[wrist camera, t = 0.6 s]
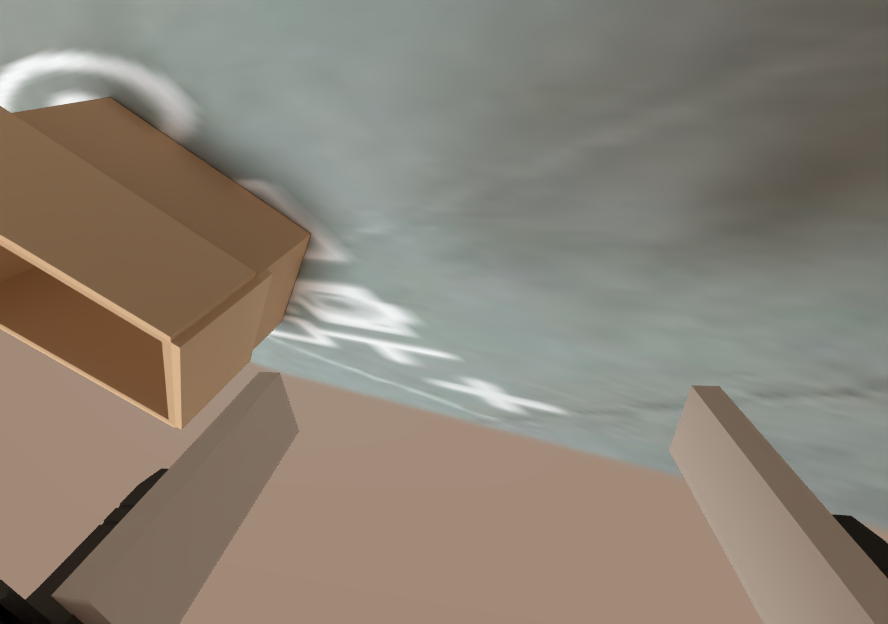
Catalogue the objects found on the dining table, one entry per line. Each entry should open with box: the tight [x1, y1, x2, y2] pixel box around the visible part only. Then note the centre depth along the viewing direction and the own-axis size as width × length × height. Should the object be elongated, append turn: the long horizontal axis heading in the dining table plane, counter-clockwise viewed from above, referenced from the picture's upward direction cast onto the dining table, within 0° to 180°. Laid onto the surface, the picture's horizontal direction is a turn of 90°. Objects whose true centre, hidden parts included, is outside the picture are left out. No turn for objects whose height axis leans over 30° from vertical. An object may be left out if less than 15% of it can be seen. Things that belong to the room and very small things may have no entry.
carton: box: [0, 97, 311, 429], centre depth 25 cm, size 16×13×12 cm
